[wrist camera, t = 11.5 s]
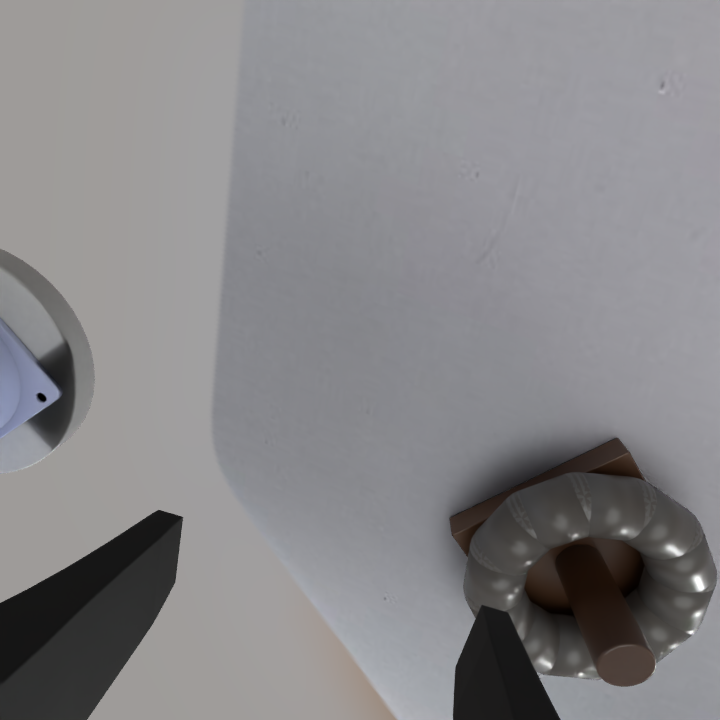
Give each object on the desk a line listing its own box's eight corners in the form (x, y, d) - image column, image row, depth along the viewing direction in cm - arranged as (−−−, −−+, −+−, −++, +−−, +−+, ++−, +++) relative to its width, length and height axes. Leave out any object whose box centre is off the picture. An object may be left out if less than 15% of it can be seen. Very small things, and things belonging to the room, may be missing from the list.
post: (530, 634, 26) (569, 772, 20) (449, 517, 23) (465, 631, 18) (691, 570, 24) (787, 701, 18) (617, 437, 22) (698, 535, 16)
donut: (450, 631, 24) (455, 678, 22) (478, 452, 21) (488, 485, 19) (659, 653, 24) (687, 703, 22) (723, 473, 20) (763, 510, 18)
